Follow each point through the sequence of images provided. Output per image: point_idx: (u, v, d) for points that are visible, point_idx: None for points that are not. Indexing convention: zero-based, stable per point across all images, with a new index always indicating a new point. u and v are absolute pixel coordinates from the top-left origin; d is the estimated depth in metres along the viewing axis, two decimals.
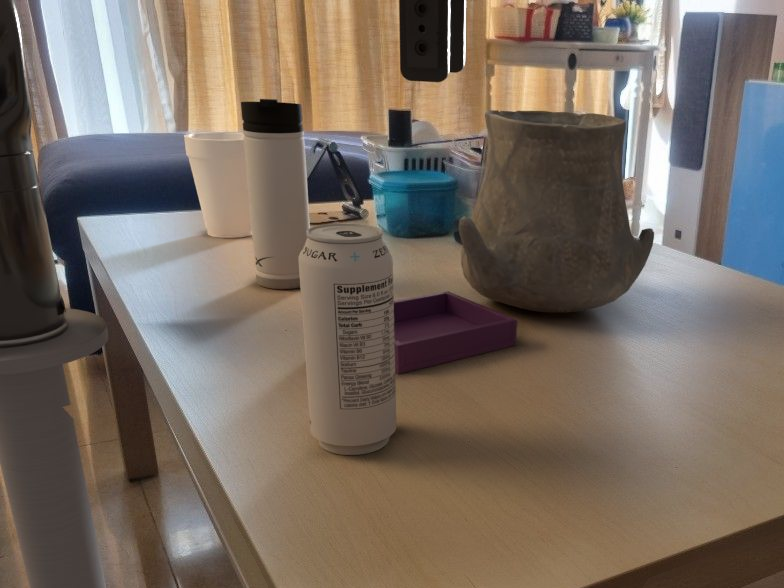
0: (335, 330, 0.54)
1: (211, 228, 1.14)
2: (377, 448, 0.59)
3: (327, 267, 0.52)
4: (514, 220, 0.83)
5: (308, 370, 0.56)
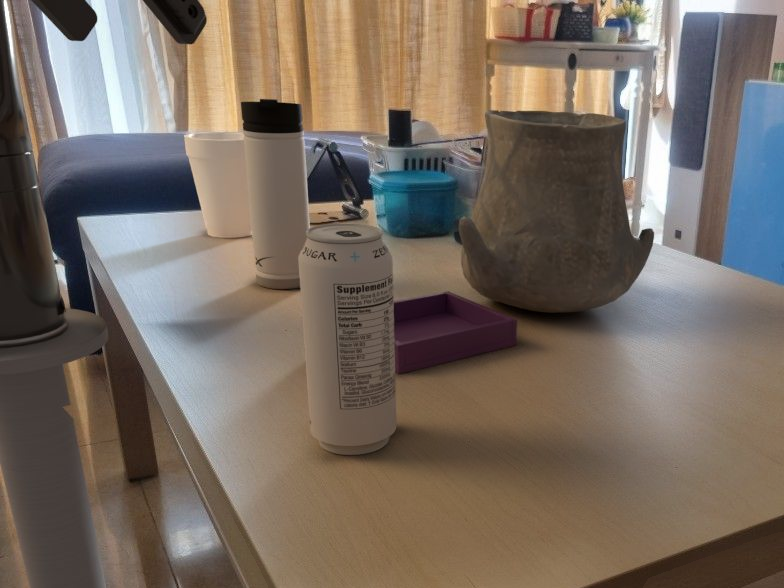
0: (335, 330, 0.54)
1: (211, 228, 1.14)
2: (377, 448, 0.59)
3: (327, 267, 0.52)
4: (514, 220, 0.83)
5: (308, 370, 0.56)
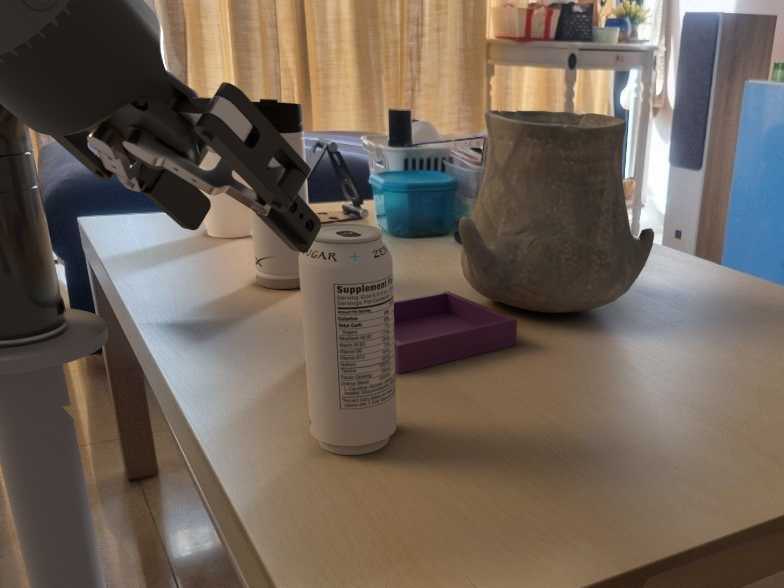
0: (335, 330, 0.54)
1: (211, 228, 1.14)
2: (377, 448, 0.59)
3: (327, 267, 0.52)
4: (514, 220, 0.83)
5: (308, 370, 0.56)
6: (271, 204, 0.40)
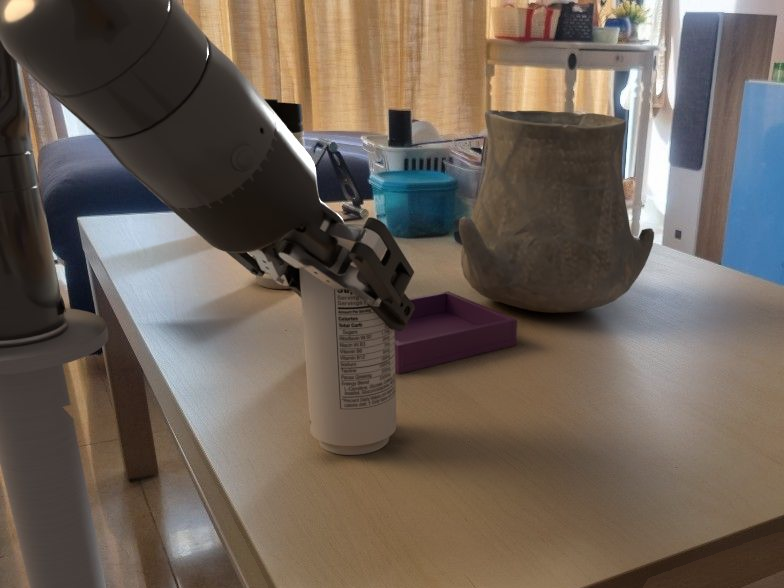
0: (335, 330, 0.54)
1: None
2: (377, 448, 0.59)
3: None
4: (514, 220, 0.83)
5: (308, 370, 0.56)
6: (385, 301, 0.50)
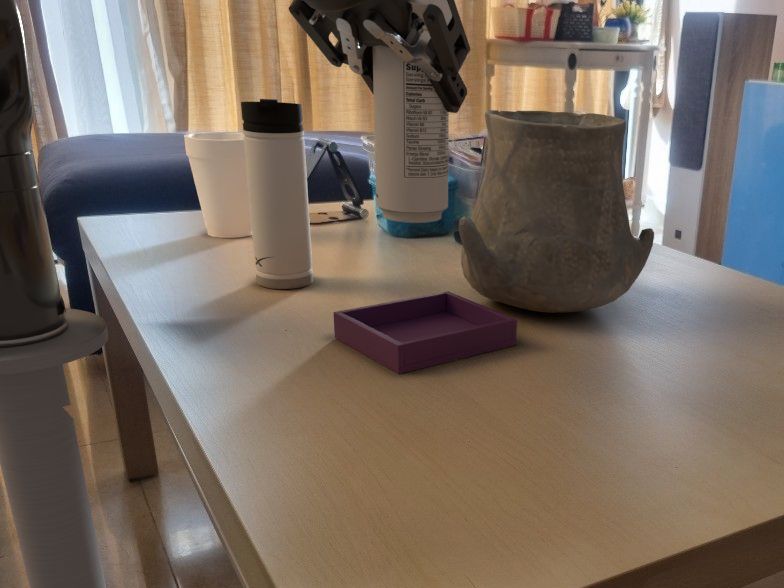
0: (403, 104, 0.65)
1: (211, 228, 1.14)
2: (432, 220, 0.70)
3: None
4: (514, 220, 0.83)
5: (377, 146, 0.67)
6: (447, 70, 0.62)
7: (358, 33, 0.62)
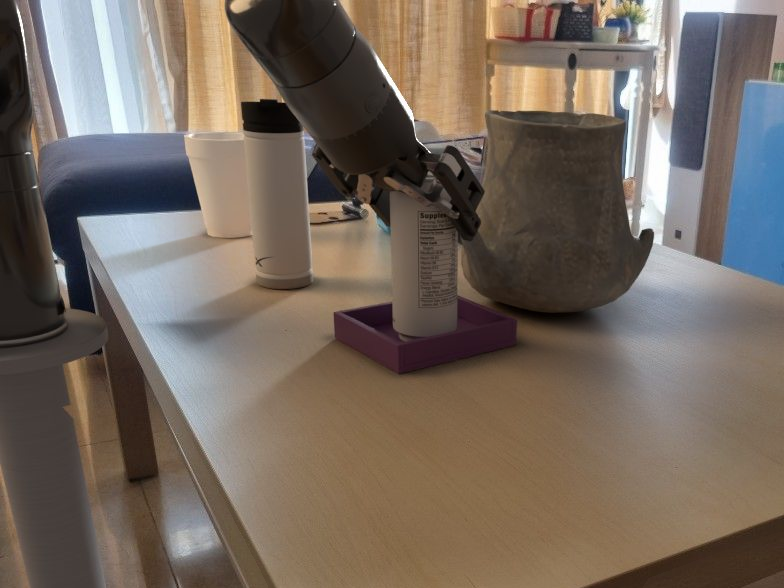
0: (417, 247, 0.73)
1: (211, 228, 1.14)
2: None
3: (413, 199, 0.71)
4: (514, 220, 0.83)
5: (394, 279, 0.75)
6: (464, 212, 0.69)
7: (375, 181, 0.70)
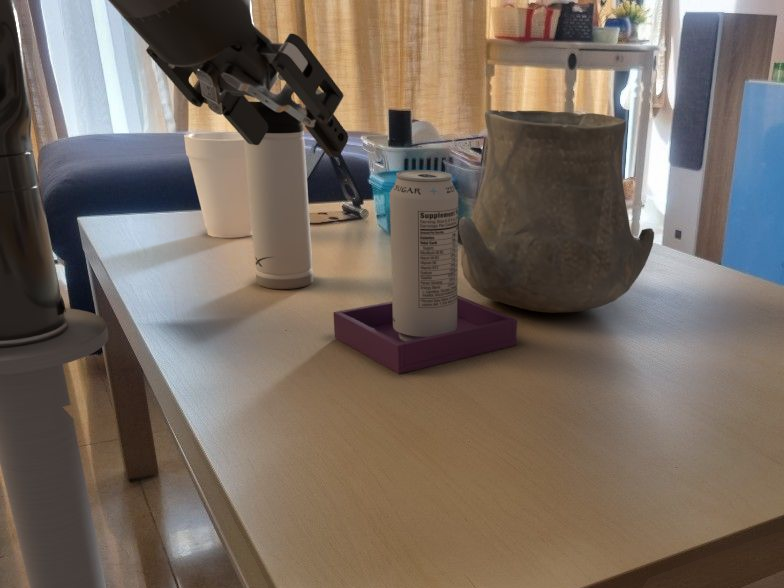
0: (417, 247, 0.73)
1: (211, 228, 1.14)
2: None
3: (413, 199, 0.71)
4: (514, 220, 0.83)
5: (394, 279, 0.75)
6: (317, 117, 0.60)
7: (219, 82, 0.61)
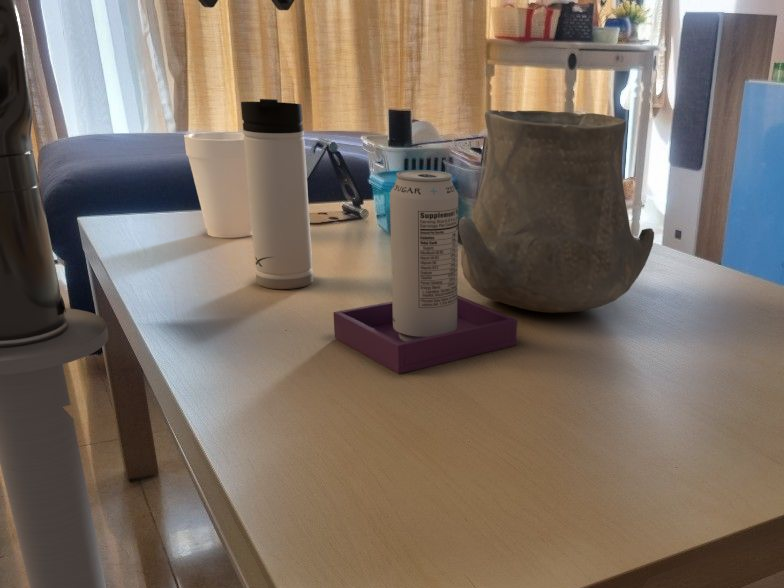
0: (417, 247, 0.73)
1: (211, 228, 1.14)
2: None
3: (413, 199, 0.71)
4: (514, 220, 0.83)
5: (394, 279, 0.75)
6: None
7: None
